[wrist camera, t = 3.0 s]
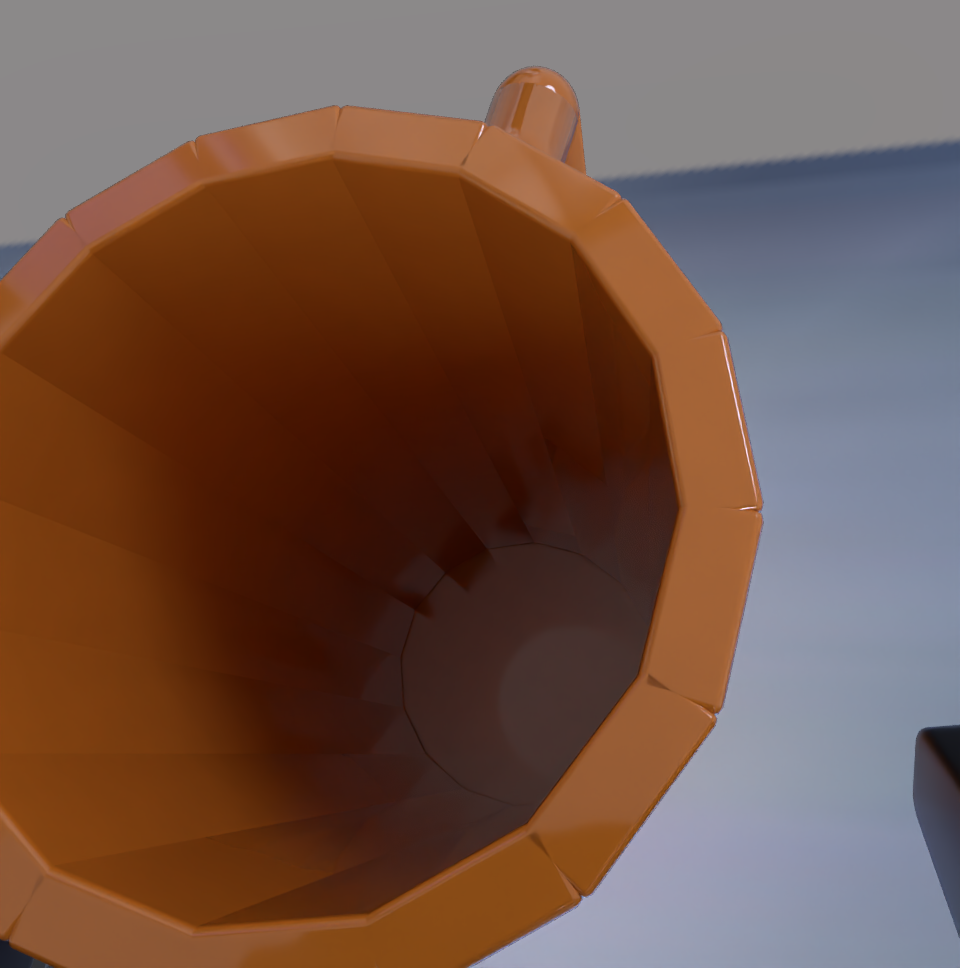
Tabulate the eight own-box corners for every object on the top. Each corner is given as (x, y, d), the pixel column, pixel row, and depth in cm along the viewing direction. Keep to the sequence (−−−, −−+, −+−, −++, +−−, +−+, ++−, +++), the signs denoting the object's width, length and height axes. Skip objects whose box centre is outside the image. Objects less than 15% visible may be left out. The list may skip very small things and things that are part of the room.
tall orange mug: (637, 872, 16) (610, 1229, 4) (349, 772, 18) (-293, 813, 6) (735, 451, 18) (908, -145, 6) (470, 396, 20) (195, -163, 8)
